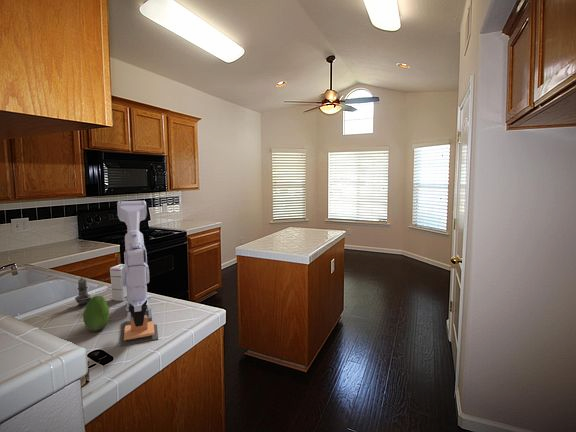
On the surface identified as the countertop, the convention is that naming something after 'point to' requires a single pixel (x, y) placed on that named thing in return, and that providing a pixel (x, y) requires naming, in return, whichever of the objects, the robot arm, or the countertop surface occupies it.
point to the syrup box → (118, 283)
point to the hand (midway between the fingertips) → (139, 323)
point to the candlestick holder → (82, 294)
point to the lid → (139, 329)
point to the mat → (139, 340)
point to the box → (148, 313)
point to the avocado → (96, 313)
